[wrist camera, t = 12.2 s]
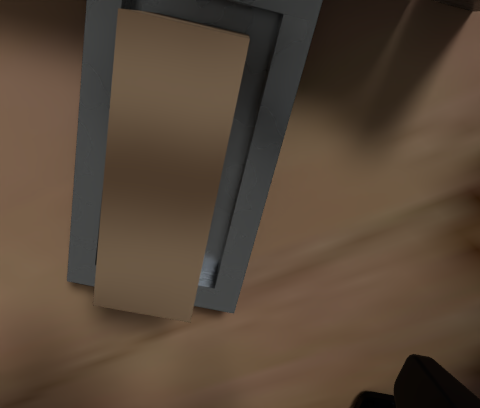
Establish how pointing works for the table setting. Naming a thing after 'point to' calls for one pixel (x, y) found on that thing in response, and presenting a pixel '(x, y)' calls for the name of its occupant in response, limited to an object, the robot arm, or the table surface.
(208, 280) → the keeper cradle
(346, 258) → the table surface
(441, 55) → the table surface
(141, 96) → the bar
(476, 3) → the door frame
